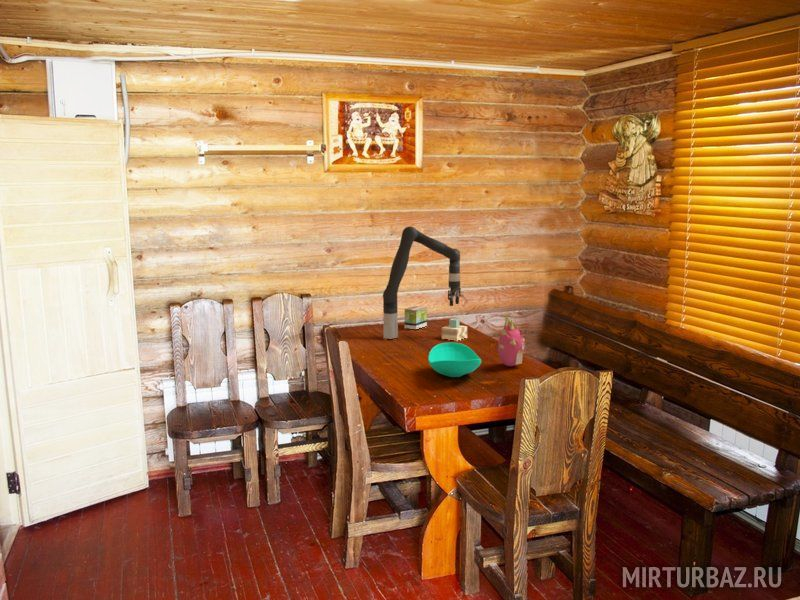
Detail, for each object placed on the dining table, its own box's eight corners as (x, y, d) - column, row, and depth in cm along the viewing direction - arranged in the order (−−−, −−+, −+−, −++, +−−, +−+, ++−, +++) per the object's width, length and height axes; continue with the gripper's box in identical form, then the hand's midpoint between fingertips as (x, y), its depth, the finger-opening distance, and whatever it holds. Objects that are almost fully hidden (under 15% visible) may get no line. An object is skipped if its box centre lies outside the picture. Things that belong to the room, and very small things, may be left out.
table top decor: (488, 385, 352) (488, 359, 350) (434, 387, 349) (433, 362, 347) (473, 364, 391) (472, 341, 388) (424, 366, 388) (423, 343, 386)
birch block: (457, 341, 446) (456, 329, 444) (441, 339, 453) (441, 327, 452) (467, 338, 455) (467, 326, 453) (452, 336, 462) (452, 324, 461)
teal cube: (456, 327, 449) (456, 320, 448) (449, 327, 452) (449, 319, 451) (459, 326, 454) (459, 318, 453) (452, 325, 456) (452, 318, 455)
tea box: (416, 331, 478) (416, 309, 476) (404, 329, 484) (403, 308, 481) (427, 326, 491) (427, 306, 488) (415, 325, 496) (414, 305, 494)
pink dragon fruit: (511, 371, 375) (512, 317, 370) (491, 367, 384) (491, 313, 379) (530, 364, 387) (530, 311, 382) (510, 360, 397) (510, 309, 391)
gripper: (454, 281, 439) (454, 307, 442) (464, 278, 451) (464, 303, 454) (444, 281, 443) (444, 306, 446) (453, 278, 455) (453, 302, 458)
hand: (454, 304), depth 450 cm, fingers open, 8 cm apart
